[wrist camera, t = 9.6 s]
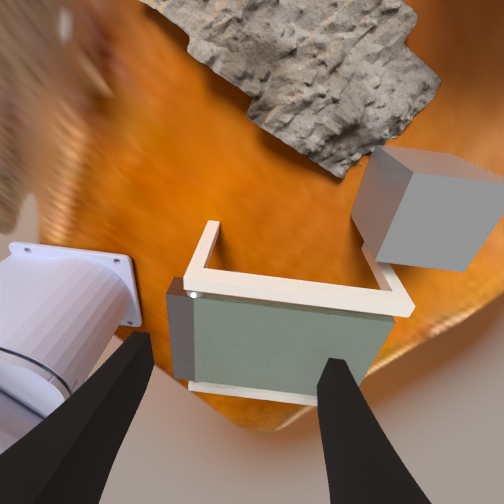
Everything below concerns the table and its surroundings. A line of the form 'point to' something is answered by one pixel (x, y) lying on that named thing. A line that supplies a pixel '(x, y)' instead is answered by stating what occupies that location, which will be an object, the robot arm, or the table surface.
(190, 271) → the miniature coffee table
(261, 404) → the table surface
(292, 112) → the stone fragment
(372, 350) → the trapdoor plate
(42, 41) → the table surface
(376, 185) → the stone block
